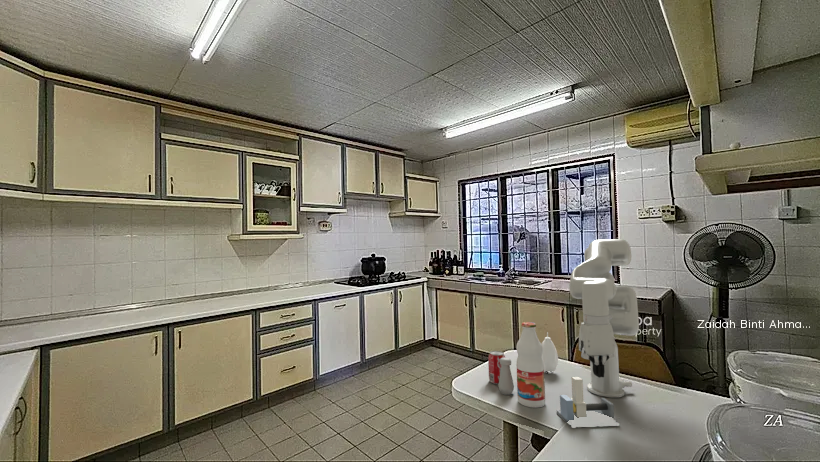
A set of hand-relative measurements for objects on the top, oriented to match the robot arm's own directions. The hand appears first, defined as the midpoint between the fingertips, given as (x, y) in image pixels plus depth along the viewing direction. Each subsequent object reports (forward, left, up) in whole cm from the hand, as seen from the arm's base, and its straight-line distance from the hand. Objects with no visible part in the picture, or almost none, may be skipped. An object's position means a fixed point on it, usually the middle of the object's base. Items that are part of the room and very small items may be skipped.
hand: (598, 375), depth 114 cm
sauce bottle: (-2, -42, -13) cm, 44 cm away
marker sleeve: (+8, +1, -12) cm, 14 cm away
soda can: (+24, -33, -13) cm, 43 cm away
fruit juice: (+18, -13, -13) cm, 26 cm away
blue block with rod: (+5, +1, -13) cm, 14 cm away
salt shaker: (+24, -22, -13) cm, 35 cm away
